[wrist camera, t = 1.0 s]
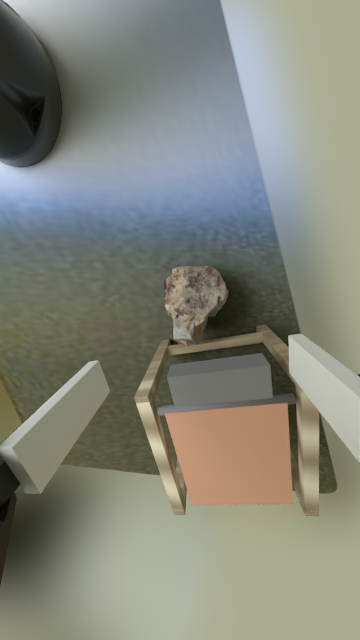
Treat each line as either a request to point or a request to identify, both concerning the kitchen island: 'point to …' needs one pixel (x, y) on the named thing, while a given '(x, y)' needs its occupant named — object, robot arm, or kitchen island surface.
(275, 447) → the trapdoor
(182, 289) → the rock
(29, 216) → the kitchen island surface
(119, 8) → the kitchen island surface
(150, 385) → the frame
